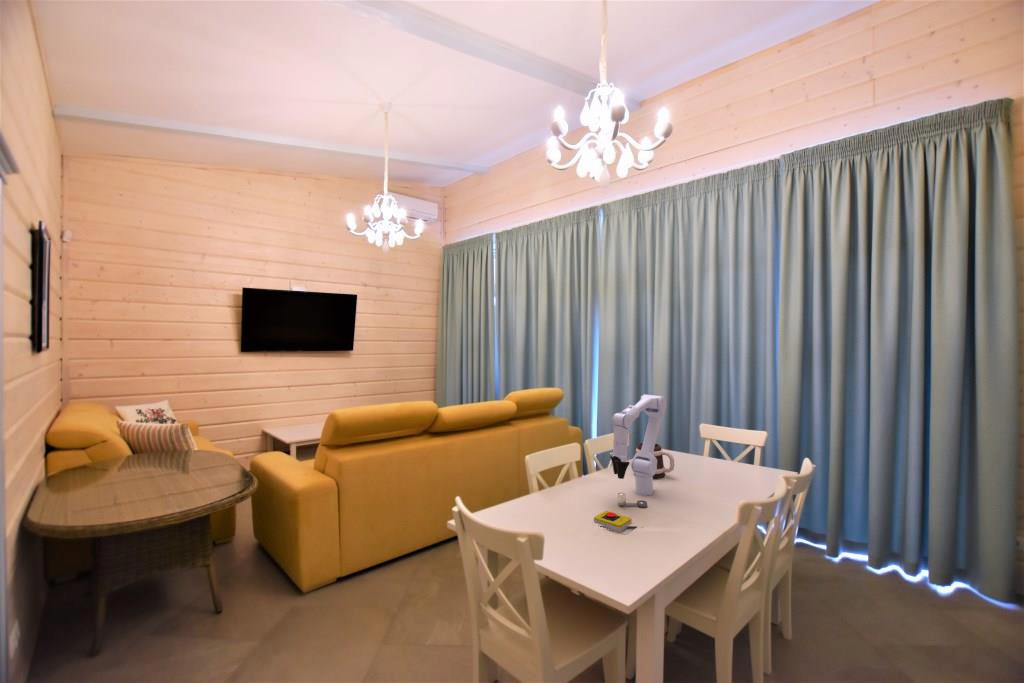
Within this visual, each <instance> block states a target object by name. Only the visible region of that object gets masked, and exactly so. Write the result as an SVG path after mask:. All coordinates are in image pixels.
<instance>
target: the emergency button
mask: <svg viewBox="0 0 1024 683" xmlns="http://www.w3.org/2000/svg"><path fill="white" fill-rule="evenodd" d="M632 521H633V520H632V517H629V516H626V515H622V514H619V513H617V512H614V511H613V512H612V511H608V510H604V511H603V512H600V513H599V514H597V515H595V516H594V517H593V522H594V523H597V524H600V525H599V526H600V527H599V528H602V527H603V528H602V529H605V528H606V529H605V530H608V529H609V530H608V531H611V530H612V531H611V532H614V531H615V533H617V532H618V534H620V533H621V535H625V536H626V535H628V534H630V533H631V532H633V531H634V530H636V529H638V526H632V525H631V526H630V524H632V523H633V522H632ZM629 532H630V533H629Z"/></svg>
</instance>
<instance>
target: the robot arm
mask: <svg viewBox="0 0 1024 683" xmlns="http://www.w3.org/2000/svg"><path fill="white" fill-rule="evenodd" d="M667 405H668V403H667V399H666V397H665V395H664V396H663V395H654V394H646V393H644V394H643V395H641V396H640V399H639V401H638V402H637V403H635V405H631V404H629V405H628V406H627V407H626V408H625V409H623V410H622V411H620V412H616V413H614V414H613V415H612V417H611V420H610V421H611V425H612V431H613V439H612V440H613V442H612V444H613V445H612V452H609V455H610V456H609V458H610V460H611V463H612V469H613V474H614V475H617V479H619V480H620V479H621V480H624V479H625V475H626V472H627V469H628V467H629V465H630V467H631V471H632V472H633V474H634V475H635V478H634V479H635V481H634V482H635V493H636V494H638V495H642V496H651V495H653V494H654V493H653V489H654V479H653V475H654V474H655V473H656V471H657V459H656V457H655V456H654V455H653V451H654V447H655V444H657V443H656V442H657V439H658V434H659V430H660V427H661V422H662V418H663V417H664V416H665V413H666V409H667ZM642 411H643V412H644V413H645V415H647V416H648V417H649V418H648V421H647V426H646V429H645V434H644V438H643V441H642V443H643V444H642V448H641V451H639V452H638V453H637V452H636V453H635V454H634V456H633V458H632V460H631V462H630V461H627V460H628V458H627V457H628V446H629V445H628V444H629V443H628V441H629V440H628V439H629V429H630V428H631V427H632V423H633V422H634V421H635V420H636V419H637V418H639V417H640V414H641V412H642ZM645 459H646V460H645ZM649 460H650V461H649Z"/></svg>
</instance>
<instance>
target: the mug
mask: <svg viewBox="0 0 1024 683" xmlns="http://www.w3.org/2000/svg"><path fill="white" fill-rule="evenodd" d="M642 444H643V442H641V443H639V444H637V447H636V448H635V452H636V453H638V452H639V451H641V448H642ZM653 455H654V456H655V457H656V459H657V471H656V473H655V474H654V475H653V480H655V479H657V480H658V479H662V478H664V476H665V475H666V473H668V474H670V473H672V472H673V471H674V470H675V465H676V464H675V458H674V456H673V455H672V453H671V452H670V451H666V450H663V448H662V446H661V445H660V444H658V443H655V447H654V451H653ZM663 456H667V457H668V458H669V468H666V467H665V465H664V457H663ZM645 460H646V459H645ZM649 461H650V460H649Z"/></svg>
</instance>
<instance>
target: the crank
mask: <svg viewBox="0 0 1024 683" xmlns="http://www.w3.org/2000/svg"><path fill="white" fill-rule="evenodd" d="M626 496H627V495H626V493H625V492H617V504H618V506H622V507H629V508H634V507H635V508H640V509H646V508H647V507H648V502H647V501H646V500H640V499H639V500H637V501H636V502H627V500H626V498H627V497H626Z"/></svg>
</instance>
